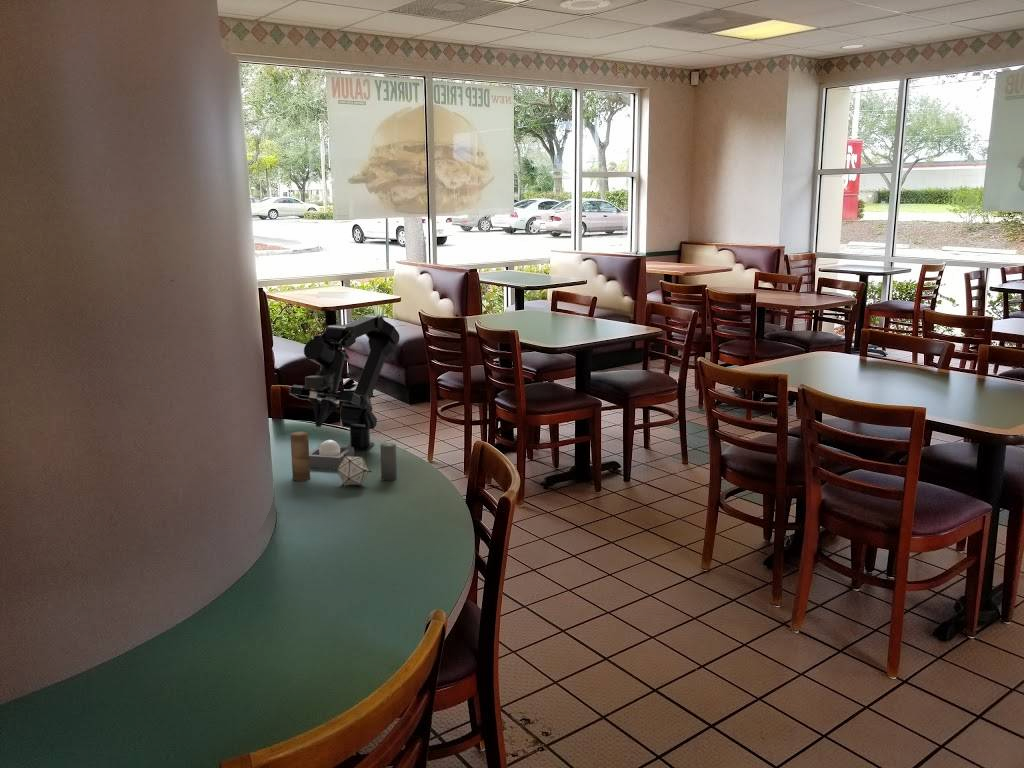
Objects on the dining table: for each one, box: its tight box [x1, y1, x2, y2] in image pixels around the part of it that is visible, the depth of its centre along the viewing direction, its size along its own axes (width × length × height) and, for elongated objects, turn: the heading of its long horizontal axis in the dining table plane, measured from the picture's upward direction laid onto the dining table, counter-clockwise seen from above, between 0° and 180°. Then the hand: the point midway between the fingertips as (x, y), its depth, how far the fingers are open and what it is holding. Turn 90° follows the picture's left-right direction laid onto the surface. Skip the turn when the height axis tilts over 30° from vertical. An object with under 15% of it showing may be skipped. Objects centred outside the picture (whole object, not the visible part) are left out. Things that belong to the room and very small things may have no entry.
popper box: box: [309, 444, 355, 470], centre depth 227 cm, size 10×10×3 cm
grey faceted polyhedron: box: [333, 453, 373, 488], centre depth 209 cm, size 9×8×10 cm
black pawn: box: [379, 442, 398, 481], centre depth 215 cm, size 4×4×9 cm
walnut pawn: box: [289, 431, 311, 482], centre depth 213 cm, size 4×4×12 cm
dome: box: [319, 439, 340, 456], centre depth 227 cm, size 6×6×6 cm
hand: (317, 426), depth 220 cm, fingers closed
